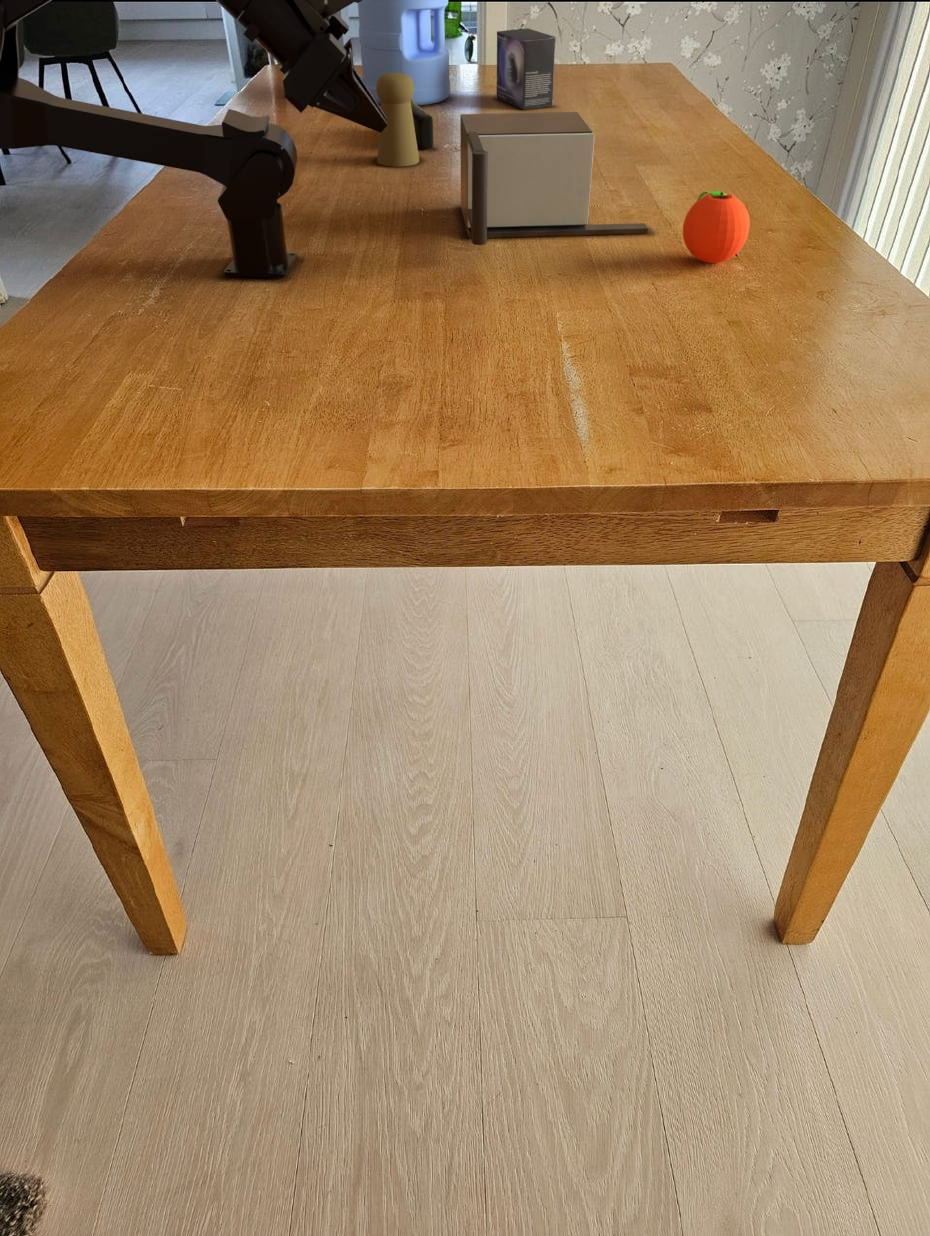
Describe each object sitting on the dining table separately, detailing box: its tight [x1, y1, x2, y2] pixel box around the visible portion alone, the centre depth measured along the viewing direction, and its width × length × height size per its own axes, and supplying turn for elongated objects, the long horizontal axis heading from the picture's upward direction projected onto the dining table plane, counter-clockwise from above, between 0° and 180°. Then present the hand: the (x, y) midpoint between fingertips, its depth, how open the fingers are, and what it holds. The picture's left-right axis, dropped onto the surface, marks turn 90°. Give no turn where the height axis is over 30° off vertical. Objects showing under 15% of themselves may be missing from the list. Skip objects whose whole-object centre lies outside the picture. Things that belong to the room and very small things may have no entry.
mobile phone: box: [410, 99, 434, 150], centre depth 143 cm, size 5×3×15 cm
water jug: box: [357, 0, 451, 107], centre depth 159 cm, size 16×16×28 cm
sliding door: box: [468, 132, 596, 246], centre depth 102 cm, size 14×10×10 cm
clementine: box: [682, 190, 751, 264], centre depth 100 cm, size 8×7×7 cm
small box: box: [495, 27, 557, 110], centre depth 162 cm, size 11×6×10 cm, turn 25°
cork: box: [376, 73, 420, 168], centre depth 131 cm, size 6×6×11 cm
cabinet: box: [459, 111, 649, 239], centre depth 110 cm, size 21×12×10 cm, turn 94°
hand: (384, 126), depth 93 cm, fingers closed
